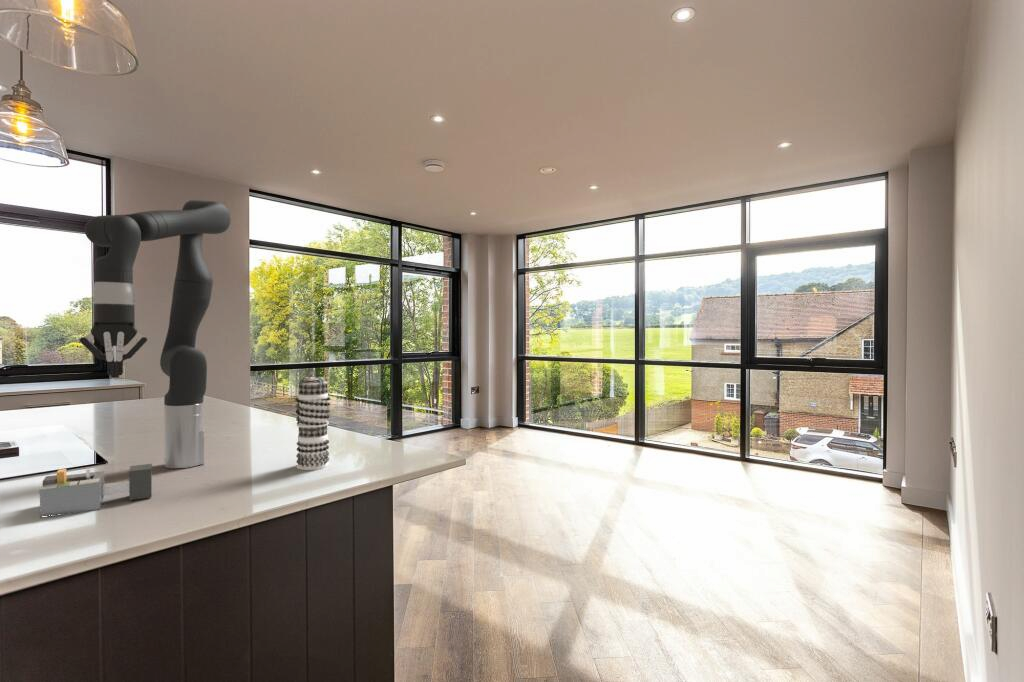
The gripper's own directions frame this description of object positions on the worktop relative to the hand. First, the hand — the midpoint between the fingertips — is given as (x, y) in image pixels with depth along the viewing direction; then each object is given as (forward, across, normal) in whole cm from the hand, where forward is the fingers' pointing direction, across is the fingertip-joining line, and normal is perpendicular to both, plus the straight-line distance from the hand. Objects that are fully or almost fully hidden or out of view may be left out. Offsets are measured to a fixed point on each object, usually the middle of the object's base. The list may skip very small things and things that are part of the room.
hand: (115, 377), depth 119 cm
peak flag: (+26, +9, +7) cm, 28 cm away
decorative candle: (+27, -44, 0) cm, 52 cm away
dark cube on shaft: (+27, -1, +7) cm, 28 cm away
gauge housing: (+27, +7, +6) cm, 29 cm away
